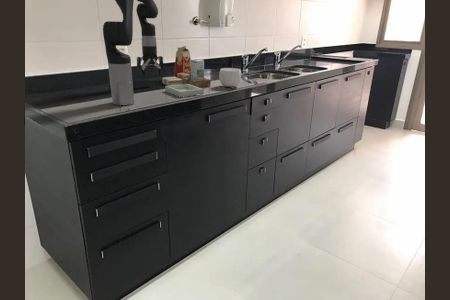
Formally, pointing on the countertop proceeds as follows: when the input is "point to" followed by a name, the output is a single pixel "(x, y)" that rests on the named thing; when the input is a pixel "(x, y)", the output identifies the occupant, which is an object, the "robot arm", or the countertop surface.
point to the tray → (184, 90)
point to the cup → (230, 77)
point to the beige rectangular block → (172, 81)
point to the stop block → (183, 75)
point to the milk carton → (182, 61)
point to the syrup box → (197, 69)
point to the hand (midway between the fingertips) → (151, 76)
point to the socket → (198, 82)
